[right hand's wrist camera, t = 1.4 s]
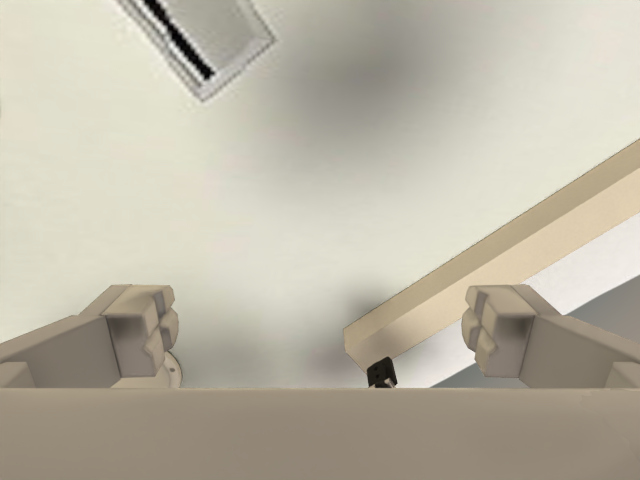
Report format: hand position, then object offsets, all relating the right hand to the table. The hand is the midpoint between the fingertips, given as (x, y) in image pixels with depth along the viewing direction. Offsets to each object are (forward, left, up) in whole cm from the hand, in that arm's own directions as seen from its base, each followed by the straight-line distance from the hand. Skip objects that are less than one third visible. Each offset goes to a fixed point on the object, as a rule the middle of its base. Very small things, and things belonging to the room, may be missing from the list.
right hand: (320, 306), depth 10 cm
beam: (+8, +28, -40) cm, 50 cm away
